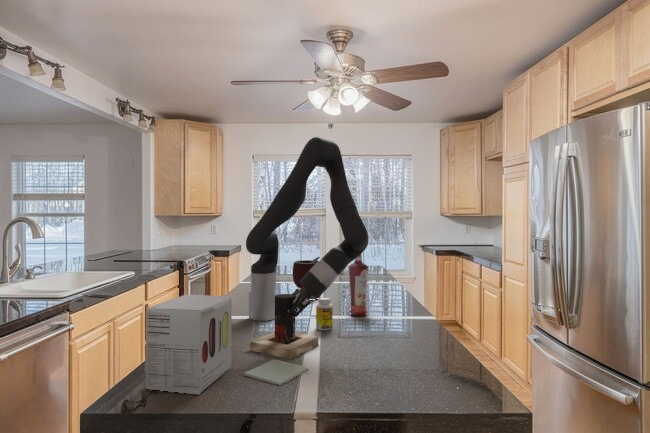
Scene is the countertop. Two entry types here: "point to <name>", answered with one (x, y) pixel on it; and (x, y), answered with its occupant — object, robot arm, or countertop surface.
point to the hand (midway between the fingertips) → (279, 321)
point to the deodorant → (288, 331)
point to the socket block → (284, 345)
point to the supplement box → (188, 343)
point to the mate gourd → (302, 271)
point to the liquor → (358, 287)
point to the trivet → (276, 371)
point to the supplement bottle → (324, 314)
